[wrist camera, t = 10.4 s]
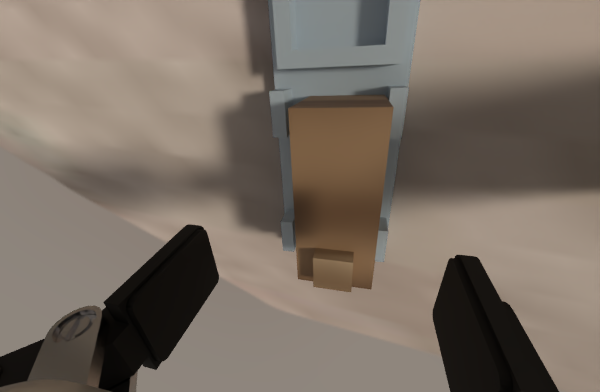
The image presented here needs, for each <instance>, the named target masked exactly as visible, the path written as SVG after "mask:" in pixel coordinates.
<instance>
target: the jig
mask: <svg viewBox="0 0 600 392" xmlns="http://www.w3.org/2000/svg"><path fill="white" fill-rule="evenodd" d="M268 7H269V20H270V32H271V45H272V58H273V71H274V84H275V90H272V91H269V96H270V107H271V119H272V130H273V137H279V148H280V160H281V173H282V186H283V199H284V212H285V214H284V216H283V218H282V220H281V232H282V243H283V250H284V251H293V252H294V251H295V248H296V236H295V218H294V201H293V183H292V166H291V148H290V131H289V113H288V108H290V107H291V106H293V105H295V104H297V103H299V102H300V101H302V100H304V99H306V98H308V97H309V96H335V95H385V96H386V97H387V99H388V100H389V102H390V103H391V104H392V106H393V107H394V108H393V117H392V125H391V133H390V141H389V149H388V157H387V165H386V174H385V182H384V190H383V198H382V206H381V214H380V222H379V230H378V239H377V247H376V255H375V261H378V262H384V258H385V251H386V244H387V237H388V225H389V218H390V211H391V204H392V197H393V190H394V183H395V175H396V168H397V161H398V154H399V147H400V140H401V139H402V133H403V126H404V119H405V112H406V105H407V98H408V91H409V87H408V84H409V77H410V70H411V63H412V56H413V49H414V42H415V35H416V28H417V21H418V14H419V7H420V0H268Z"/></svg>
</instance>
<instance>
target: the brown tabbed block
mask: <svg viewBox="0 0 600 392" xmlns="http://www.w3.org/2000/svg"><path fill="white" fill-rule="evenodd" d="M393 108H394V107H393V106H392V104H391V103H390V102H389V100H388V99H387V97H386V96H385V95H335V96H309V97H308V98H306V99H304V100H302V101H300V102H299V103H297V104H295V105H293V106H291V107H290V108H288V113H289V131H290V148H291V166H292V183H293V201H294V218H295V236H296V253H297V270H298V279H301V280H308V281H313V284H314V287H318V288H325V289H332V290H339V291H346V292H351V287H358V288H365V289H371V287H372V279H373V271H374V263H375V255H376V247H377V239H378V230H379V222H380V214H381V206H382V198H383V190H384V182H385V174H386V165H387V157H388V149H389V141H390V133H391V125H392V117H393Z"/></svg>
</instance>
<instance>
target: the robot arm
mask: <svg viewBox="0 0 600 392" xmlns="http://www.w3.org/2000/svg"><path fill="white" fill-rule="evenodd" d="M218 280H219V274H218V271H217V267H216V263H215V260H214V256H213V253H212V249H211V246H210V242H209V238H208V235H207V232H206V230H204V228H203V227H202V226H198V225H186V226H185V227H184V228H183V229H182V230H181V231H179V232H178V233H177V234H176V235H175V236H174V237H173V238H172V239H171V240H170V241H169V242H168V243H167V244H166V245H164V246H163V248H161V249H160V250H159V251H158V252H157V253H156V254H155V255H154V256H153V257H152V258H151V259H149V260H148V261H147V262H146V263H145V264H144V265H143V266H142V267H141V268H140V269H139V270H138V271H137V272H136V273H134V274H133V275H132V276H131V277H130V278H129V279H128V280H127V281H126V282H125V283H124V284H123V285H122V286H120V288H118V289H117V290H116V291H115V292H114V293H113V294H112V295H111V296H110V297H109V298H108V299H106V300H105V301H104V304H105V306H106V308H105V309H103V310H101V309H100V307H97V306H86V307H82V308H79V309H77V310H74V311H72V312H70V313H69V314H67V315H65V316H64V317H62V318H61V319H60V320H59V321H57V322H56V323H55V324H54V325H53V326H52V328H51V329H50V330H49V332H48V333H47V335H46V337H45V339H43V340H40V341H38V342H35V343H33V344H30V345H28V346H26V347H23V348H21V349H18V350H16V351H14V352H11V353H9V354H6V355H4V356H2V357H0V392H136V385H137V371H138V369H139V368H140V366H141V365H142V364H143V366H144V367H148V368H152V369H155V370H156V369H157V368H158V366H159V365H160V363H161V362H162V361H164V360H166V359H167V358H168V357H169V355H170V354H171V352H172V351H173V349H174V348H175V346H176V345H177V343H178V342H179V340H180V339H181V337H182V336H183V334H184V333H185V331H186V330H187V328H188V327H189V325H190V323H191V322H192V321H193V319H194V318H195V316H196V314H197V313H198V312H199V310H200V309H201V307H202V305H203V304H204V303H205V301H206V300H207V298H208V296H209V295H210V294H211V292H212V290H213V289H214V287H215V286H216V284H217V283H218ZM433 322H434V326H435V330H436V334H437V338H438V342H439V346H440V351H441V355H442V359H443V363H444V367H445V371H446V375H447V380H448V384H449V388H450V392H559V391H558V389H557V387H556V385H555V384H554V382H553V380H552V378H551V377H550V375H549V373H548V371H547V370H546V368H545V366H544V364H543V362H542V361H541V359H540V357H539V355H538V354H537V352H536V350H535V348H534V346H533V345H532V343H531V341H530V339H529V338H528V336H527V334H526V332H525V330H524V329H523V327H522V325H521V323H520V322H519V320H518V318H517V316H516V314H515V313H514V311H513V309H512V308H511V307H510V305H509V304H507V303H506V302H502V301H501V299H500V297H499V295H498V294H497V292H496V290H495V288H494V286H493V284H492V282H491V280H490V279H489V277H488V275H487V273H486V271H485V269H484V267H483V266H482V264H481V262H480V260H479V259H478V258H477V257H474V256H465V255H456V256H455V258H454V259H453V258H450V259H449V261H448V264H447V267H446V270H445V273H444V276H443V280H442V283H441V286H440V289H439V292H438V296H437V299H436V302H435V305H434V308H433Z"/></svg>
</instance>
